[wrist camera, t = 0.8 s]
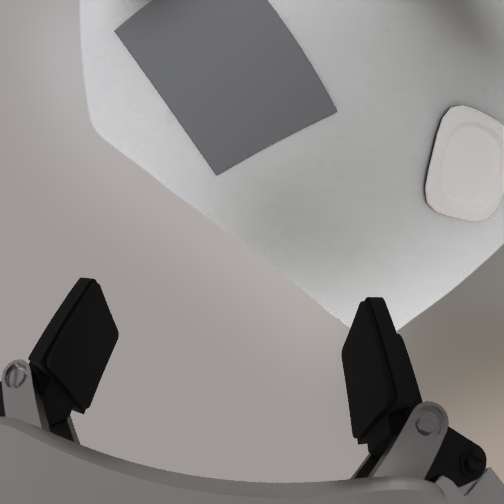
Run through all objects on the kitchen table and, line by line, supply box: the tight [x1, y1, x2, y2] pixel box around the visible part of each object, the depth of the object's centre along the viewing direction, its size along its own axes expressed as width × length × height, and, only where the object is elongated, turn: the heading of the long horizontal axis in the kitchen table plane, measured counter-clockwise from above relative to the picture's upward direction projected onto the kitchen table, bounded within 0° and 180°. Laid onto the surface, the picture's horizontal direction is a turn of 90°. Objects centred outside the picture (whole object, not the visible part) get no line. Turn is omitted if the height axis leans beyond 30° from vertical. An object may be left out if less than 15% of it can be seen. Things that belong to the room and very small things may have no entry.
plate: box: [425, 105, 504, 222], centre depth 33 cm, size 18×18×2 cm
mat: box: [115, 0, 337, 175], centre depth 29 cm, size 18×26×1 cm
